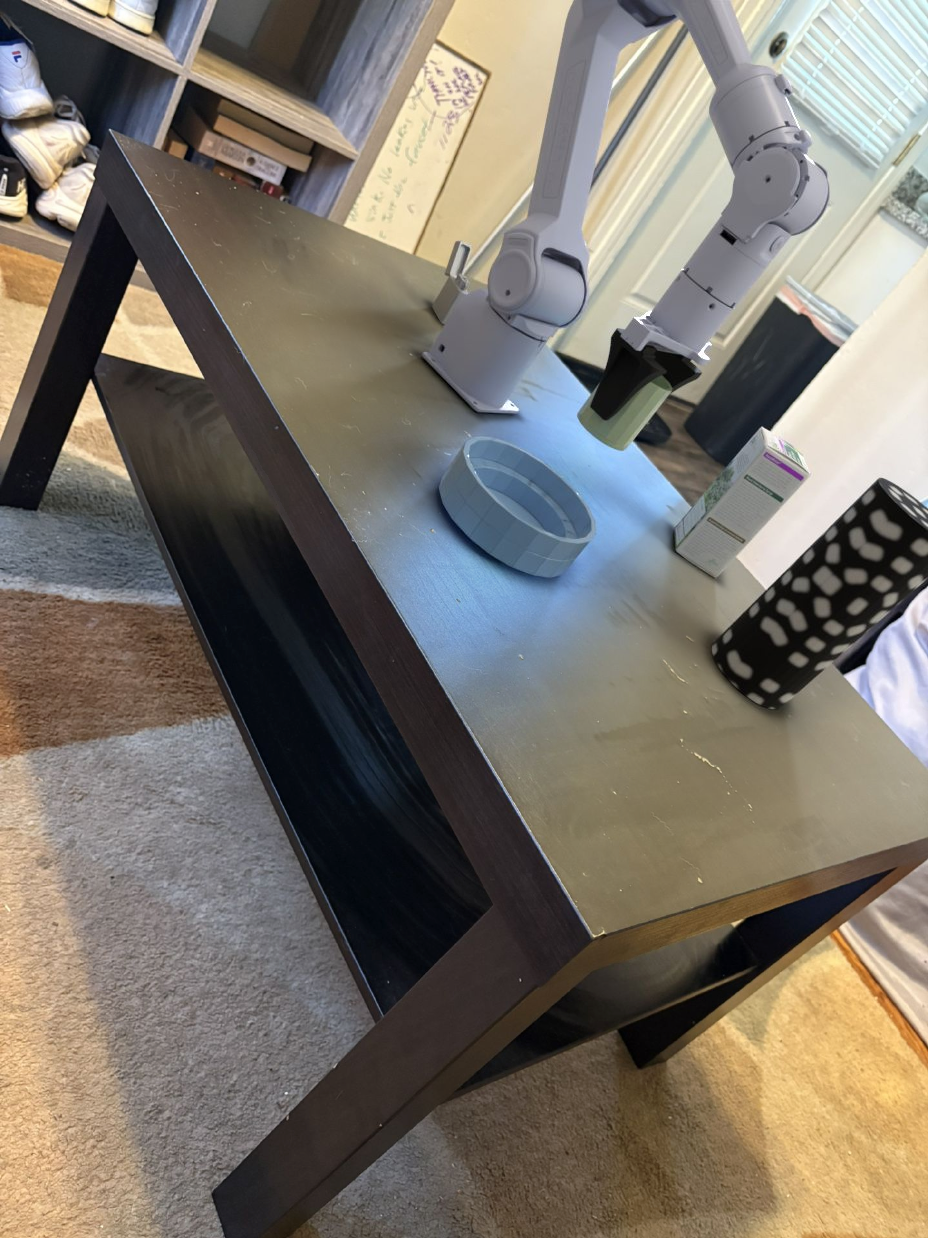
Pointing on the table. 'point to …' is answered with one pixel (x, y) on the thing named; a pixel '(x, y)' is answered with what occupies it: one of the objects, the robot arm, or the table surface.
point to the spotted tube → (828, 596)
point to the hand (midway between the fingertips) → (613, 414)
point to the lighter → (453, 282)
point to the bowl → (516, 507)
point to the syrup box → (740, 502)
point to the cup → (625, 415)
